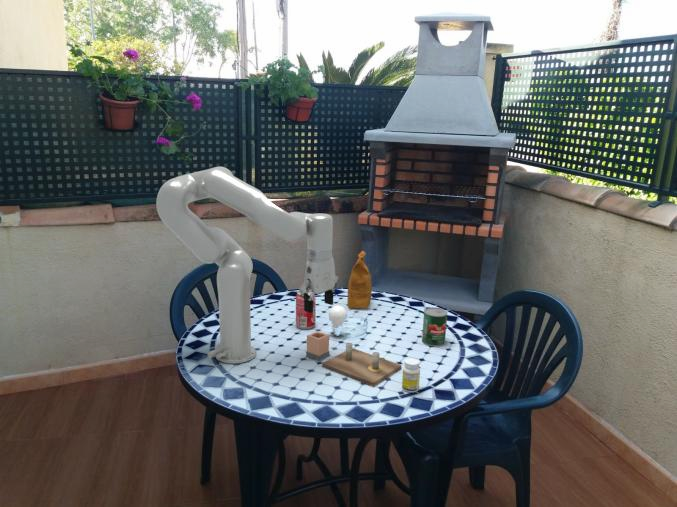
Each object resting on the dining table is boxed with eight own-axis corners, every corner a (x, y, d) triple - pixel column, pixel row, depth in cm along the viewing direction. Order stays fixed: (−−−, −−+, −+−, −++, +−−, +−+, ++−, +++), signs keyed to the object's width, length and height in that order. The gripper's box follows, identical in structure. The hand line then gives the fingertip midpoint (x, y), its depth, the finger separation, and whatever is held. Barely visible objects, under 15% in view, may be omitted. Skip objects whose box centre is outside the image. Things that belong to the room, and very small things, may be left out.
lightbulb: (330, 340, 179) (331, 309, 176) (326, 332, 185) (326, 303, 182) (348, 338, 180) (349, 308, 178) (343, 331, 186) (344, 302, 184)
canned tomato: (434, 348, 174) (437, 317, 172) (417, 340, 180) (419, 310, 177) (449, 342, 179) (452, 312, 177) (432, 335, 185) (434, 306, 182)
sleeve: (318, 361, 163) (319, 340, 161) (305, 356, 166) (306, 335, 164) (329, 355, 167) (330, 335, 165) (316, 350, 170) (317, 330, 168)
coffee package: (373, 301, 219) (375, 250, 214) (369, 311, 207) (372, 257, 202) (349, 299, 221) (351, 249, 216) (345, 309, 209) (346, 256, 204)
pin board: (373, 386, 147) (374, 366, 146) (321, 366, 159) (322, 347, 157) (401, 368, 159) (402, 349, 157) (351, 351, 170) (352, 333, 169)
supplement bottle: (407, 383, 150) (409, 356, 148) (421, 388, 147) (423, 361, 145) (398, 389, 147) (400, 361, 145) (413, 394, 144) (414, 366, 142)
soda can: (314, 330, 187) (315, 296, 184) (294, 329, 187) (294, 295, 184) (316, 323, 194) (316, 289, 190) (296, 322, 194) (296, 289, 191)
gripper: (310, 262, 149) (309, 318, 154) (346, 251, 163) (345, 303, 167) (291, 257, 154) (291, 312, 158) (328, 247, 167) (327, 298, 171)
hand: (318, 307), depth 162 cm, fingers open, 9 cm apart
